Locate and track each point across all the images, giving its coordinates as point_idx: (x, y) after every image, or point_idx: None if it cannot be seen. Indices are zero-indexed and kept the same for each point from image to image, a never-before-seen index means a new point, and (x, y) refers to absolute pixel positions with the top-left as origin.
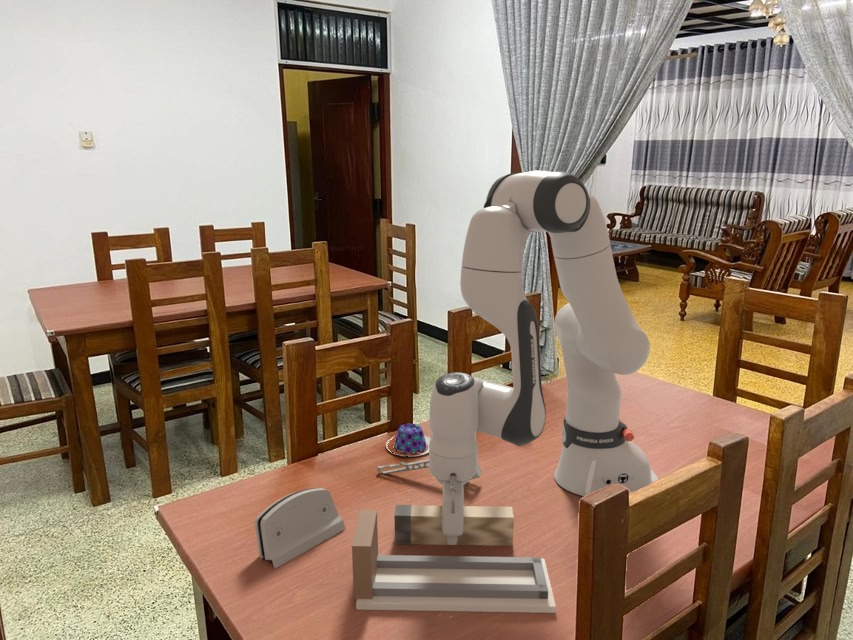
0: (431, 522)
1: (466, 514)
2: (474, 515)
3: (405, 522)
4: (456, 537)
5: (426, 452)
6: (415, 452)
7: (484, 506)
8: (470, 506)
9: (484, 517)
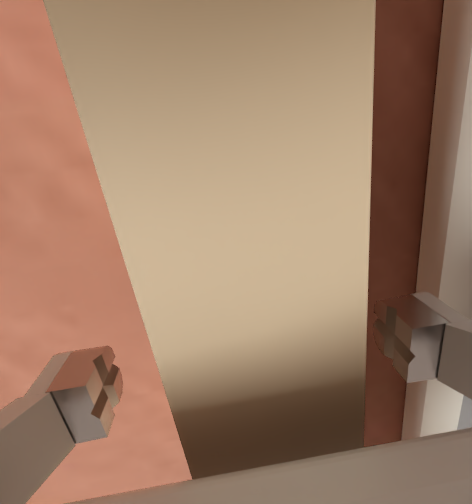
0: None
1: (322, 333)
2: (338, 248)
3: None
4: (460, 318)
5: None
6: None
7: (87, 129)
8: (150, 318)
9: (372, 107)
